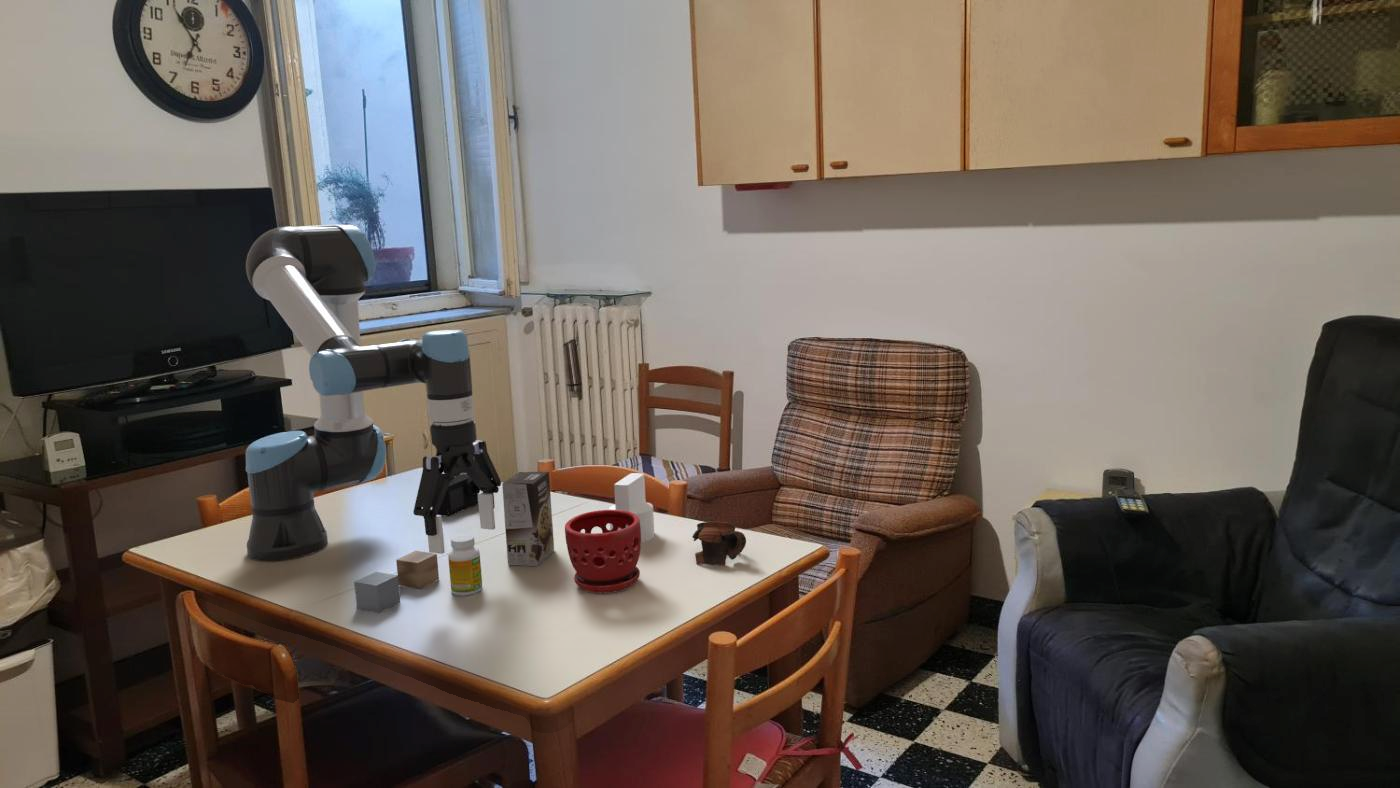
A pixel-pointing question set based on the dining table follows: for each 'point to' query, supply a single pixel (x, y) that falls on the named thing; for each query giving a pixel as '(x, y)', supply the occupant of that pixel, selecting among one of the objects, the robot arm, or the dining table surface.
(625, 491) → the base with upright slab
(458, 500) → the digital camera
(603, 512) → the plant pot
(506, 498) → the coffee box
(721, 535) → the pottery mug
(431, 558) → the walnut block
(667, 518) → the dining table surface
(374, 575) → the slate block
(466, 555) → the supplement bottle
